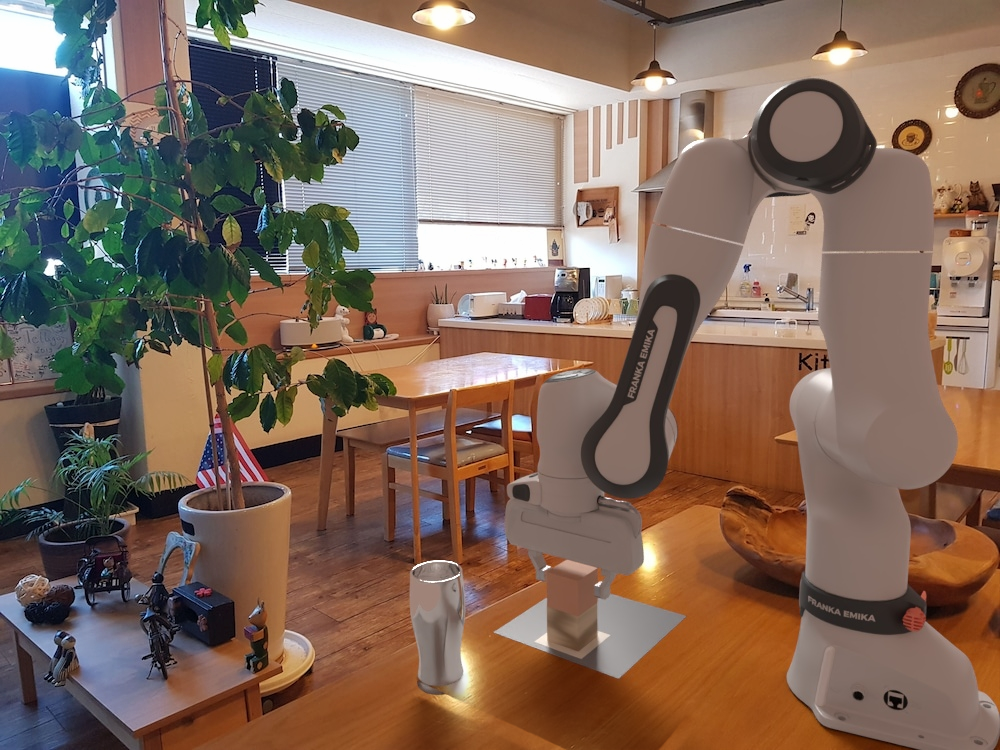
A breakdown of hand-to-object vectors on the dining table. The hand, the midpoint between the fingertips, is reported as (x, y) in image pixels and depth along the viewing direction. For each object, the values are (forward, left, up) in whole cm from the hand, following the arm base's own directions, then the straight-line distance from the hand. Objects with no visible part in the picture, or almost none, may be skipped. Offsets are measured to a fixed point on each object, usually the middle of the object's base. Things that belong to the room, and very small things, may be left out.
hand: (572, 588), depth 102 cm
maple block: (0, 0, -7) cm, 7 cm away
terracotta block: (0, 0, -2) cm, 2 cm away
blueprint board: (0, -5, -9) cm, 10 cm away
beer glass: (+9, +17, -9) cm, 21 cm away
